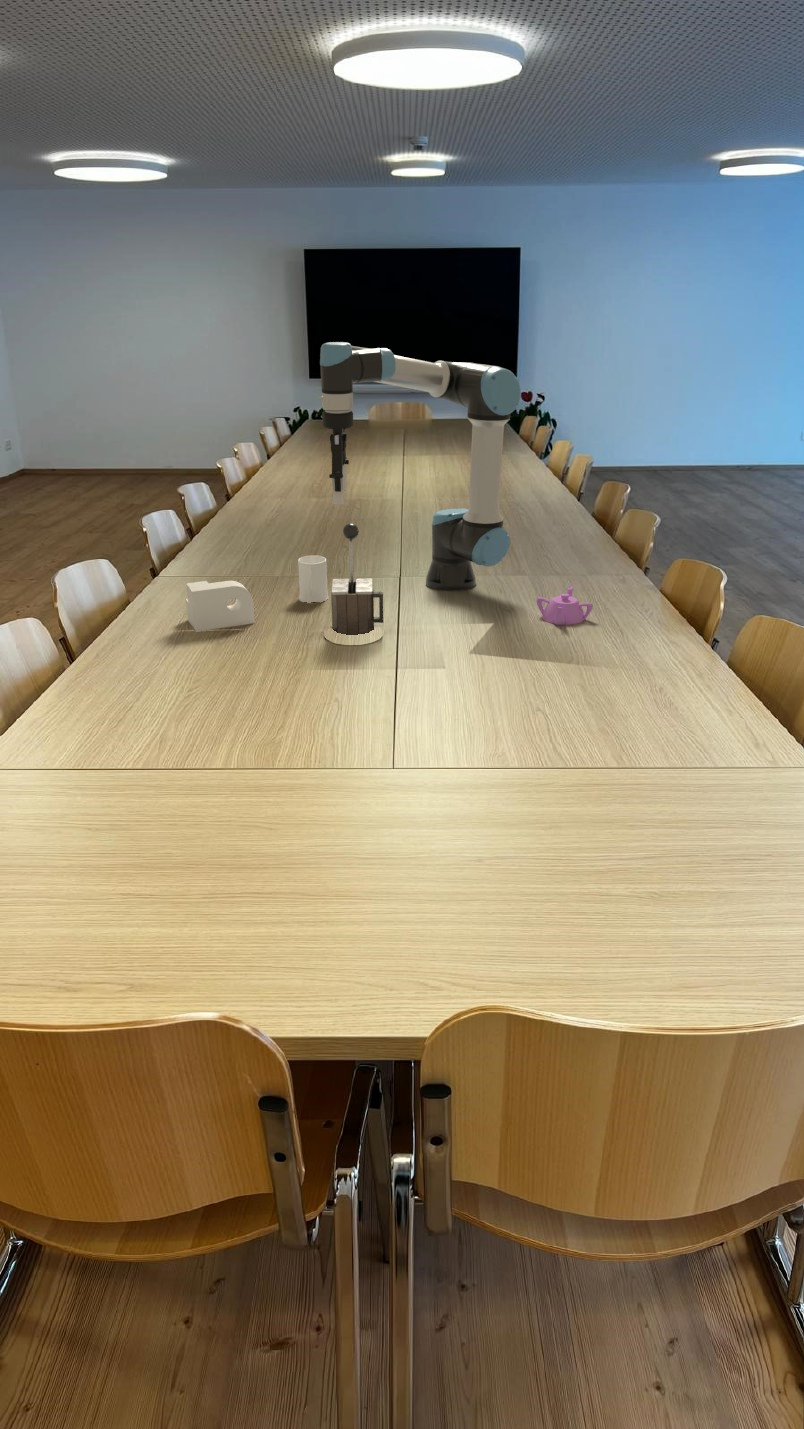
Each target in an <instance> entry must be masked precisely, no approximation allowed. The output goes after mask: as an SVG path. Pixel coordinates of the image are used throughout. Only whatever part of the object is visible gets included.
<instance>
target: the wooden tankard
mask: <svg viewBox="0 0 804 1429" xmlns="http://www.w3.org/2000/svg"><path fill="white" fill-rule="evenodd" d="M330 598H331V600H330V601H331V624H332V626H331V627H332V629H333V630H334V631H336V632H337V633H341V634H346V635H358V634H365V633H369V632H370V631H372V630H374V626H375V623H379V624H384V591H374V585H373V578H370V577H369V578H368V577H367V578H356V580H354V594H351V593H350V578H332V584H331V586H330ZM374 598H375V599H376V598H378V599H379V600H378V604H379V605H378V608H379V609H378V610H379V612H378V613H379V614H378V615H379V616H375V612H374V611H375V610H374V608H375V607H374V606H375V604H374V602H375V601H374Z"/></svg>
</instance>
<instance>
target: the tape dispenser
mask: <svg viewBox="0 0 804 1429" xmlns="http://www.w3.org/2000/svg"><path fill="white" fill-rule="evenodd" d="M185 585H186V592H187V598H186V599H185V606H186V616H187V621H188V622H189V624H190V625H191V626H192V628H193V630H194V631H195V632H196V633H200V632H201V631H202V632H207V631H206V630H209V631H215V630H214V629H221V628H229V627H230V628H231V627H237V626H245V625H252V624H255V623H256V621H255V620H256V619H255V610H254V609H255V608H254V599H253V596H252V594H251V593H250V591H248V589H247V587H245V586H244V585H243V583H240V582H239V581H236V580H225V581H216V582H211V583H210V582H208V581H207V580H202V581H194V582H187V583H186V584H185ZM234 599H235V602H234V603H233V604H231V605H228V603H229V601H231V600H234Z"/></svg>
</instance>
